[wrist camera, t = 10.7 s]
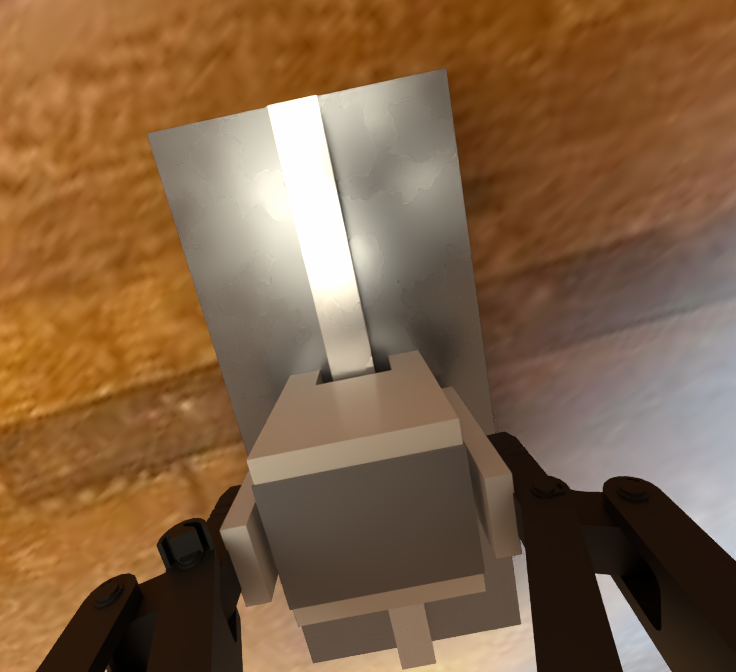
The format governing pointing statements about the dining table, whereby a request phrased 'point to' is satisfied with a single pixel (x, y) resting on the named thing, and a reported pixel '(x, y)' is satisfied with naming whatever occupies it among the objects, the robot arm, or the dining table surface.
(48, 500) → the dining table surface
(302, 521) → the block
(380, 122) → the rail
